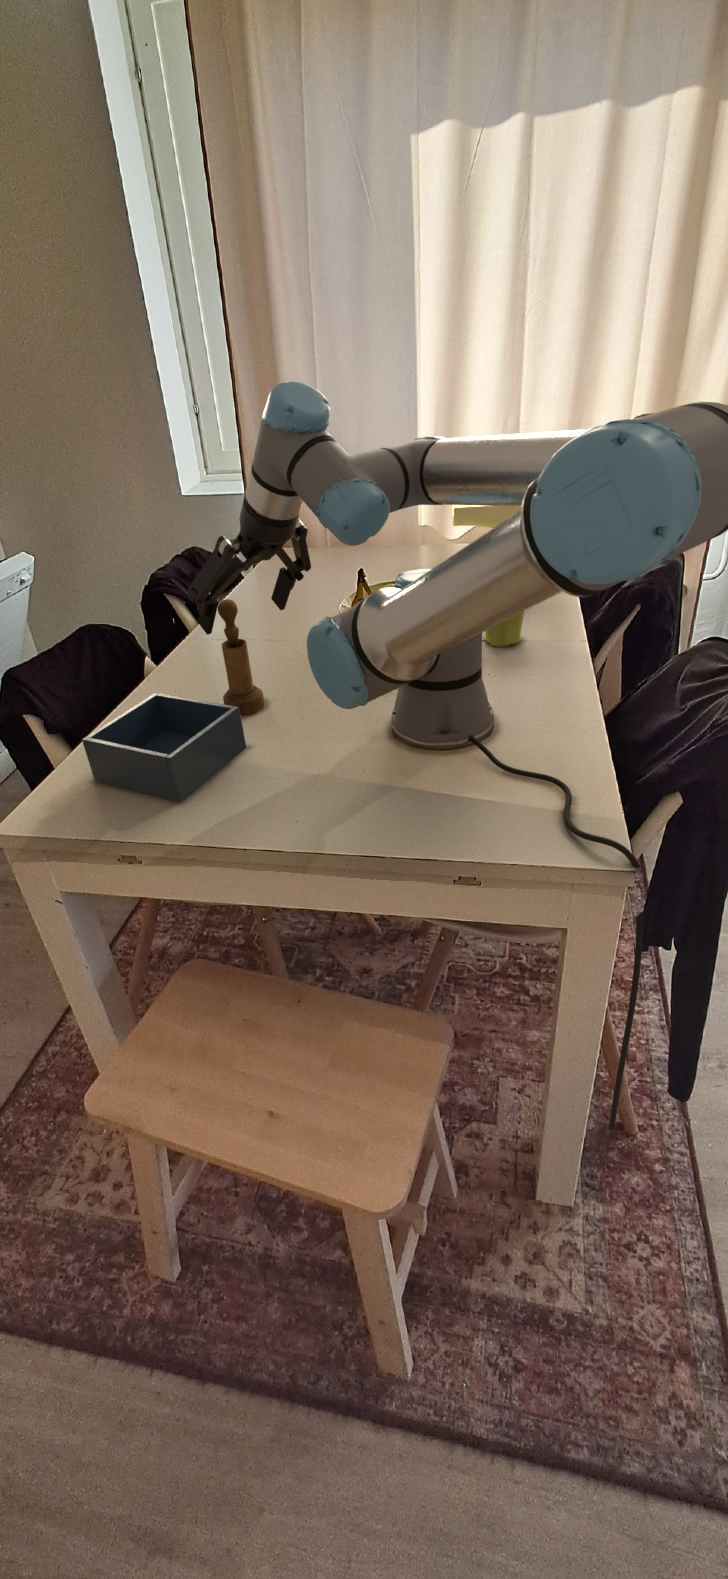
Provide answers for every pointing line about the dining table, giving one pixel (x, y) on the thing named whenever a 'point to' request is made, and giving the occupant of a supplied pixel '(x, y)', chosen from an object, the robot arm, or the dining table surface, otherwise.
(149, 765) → the tub
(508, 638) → the plant pot
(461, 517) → the slatted curved stool
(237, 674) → the mortar and pestle
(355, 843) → the dining table surface
